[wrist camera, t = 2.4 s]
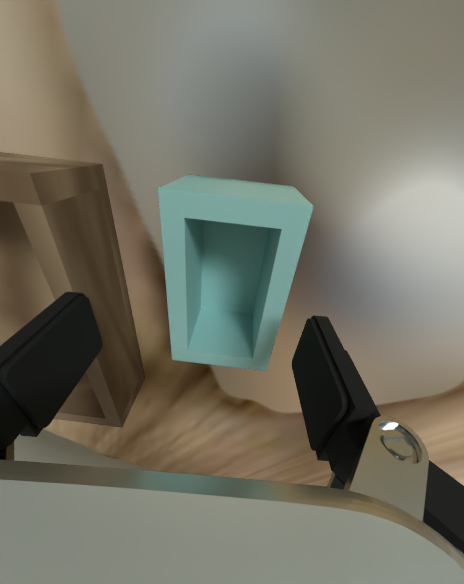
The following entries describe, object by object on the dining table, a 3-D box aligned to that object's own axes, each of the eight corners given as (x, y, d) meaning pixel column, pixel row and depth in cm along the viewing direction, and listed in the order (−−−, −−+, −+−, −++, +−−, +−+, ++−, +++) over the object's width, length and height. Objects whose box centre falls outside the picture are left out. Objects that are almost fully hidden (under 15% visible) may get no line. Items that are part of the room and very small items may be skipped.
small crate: (293, 186, 13) (313, 206, 8) (263, 319, 18) (266, 371, 14) (188, 174, 13) (158, 188, 9) (190, 310, 18) (172, 359, 14)
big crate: (102, 164, 13) (29, 173, 9) (144, 378, 24) (122, 427, 20) (-171, 132, 13) (-372, 126, 9) (-2, 359, 24) (-55, 404, 20)
